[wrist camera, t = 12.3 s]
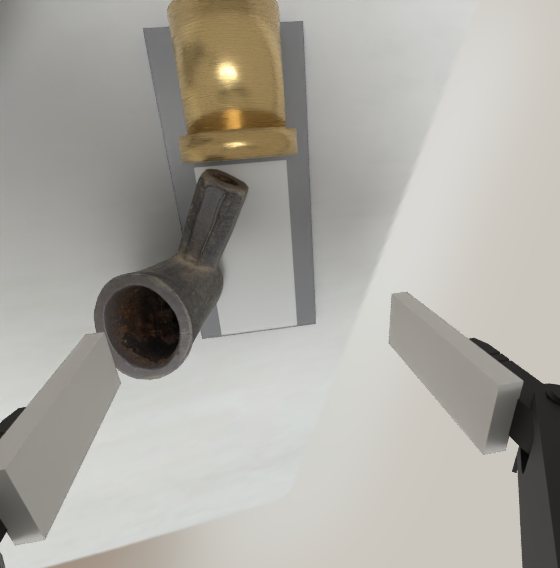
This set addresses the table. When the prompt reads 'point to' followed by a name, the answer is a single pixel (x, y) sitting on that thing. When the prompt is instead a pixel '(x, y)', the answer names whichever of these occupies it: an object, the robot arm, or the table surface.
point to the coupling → (230, 79)
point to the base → (251, 203)
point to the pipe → (172, 286)
